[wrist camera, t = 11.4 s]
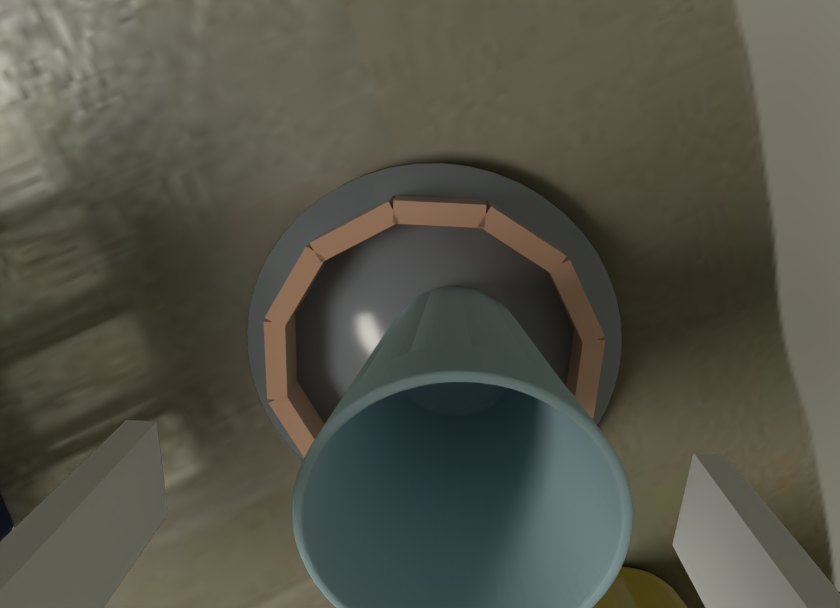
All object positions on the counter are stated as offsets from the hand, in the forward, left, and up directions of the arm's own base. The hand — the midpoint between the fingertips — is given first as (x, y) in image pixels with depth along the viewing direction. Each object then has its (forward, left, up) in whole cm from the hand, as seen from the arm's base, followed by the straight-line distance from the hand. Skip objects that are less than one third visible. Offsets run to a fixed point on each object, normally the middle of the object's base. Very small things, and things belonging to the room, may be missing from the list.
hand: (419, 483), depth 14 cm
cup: (0, +1, -9) cm, 9 cm away
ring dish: (0, 0, -10) cm, 10 cm away
